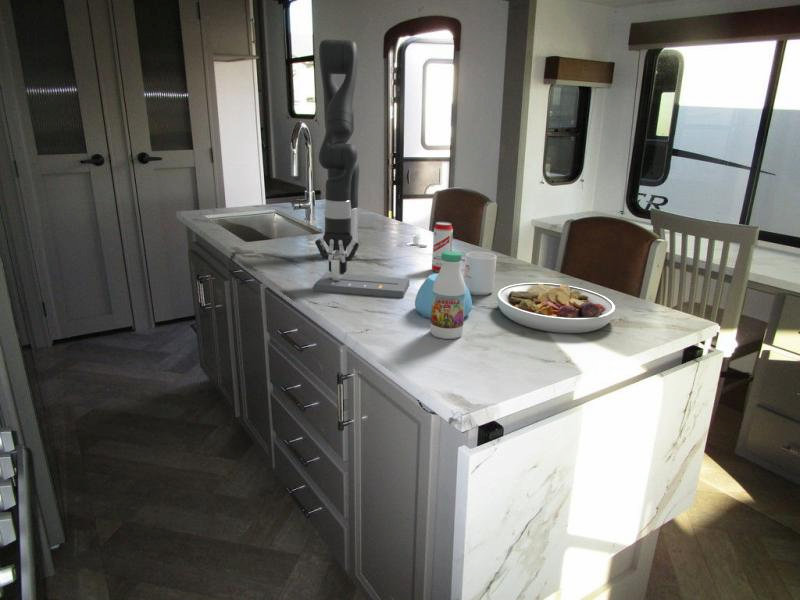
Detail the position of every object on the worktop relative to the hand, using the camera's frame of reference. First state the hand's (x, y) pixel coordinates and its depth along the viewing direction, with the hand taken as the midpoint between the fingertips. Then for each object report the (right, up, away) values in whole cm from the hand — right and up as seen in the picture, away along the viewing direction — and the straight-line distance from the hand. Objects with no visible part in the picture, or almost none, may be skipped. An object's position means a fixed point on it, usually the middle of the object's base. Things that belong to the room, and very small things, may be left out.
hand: (337, 273), depth 169 cm
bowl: (+59, -13, -17) cm, 63 cm away
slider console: (+8, -4, 0) cm, 9 cm away
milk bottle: (+30, -16, -32) cm, 47 cm away
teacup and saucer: (+24, +12, +55) cm, 61 cm away
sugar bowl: (+30, -12, -18) cm, 37 cm away
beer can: (+32, +2, +22) cm, 39 cm away
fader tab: (0, -1, 0) cm, 1 cm away
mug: (+41, -5, +3) cm, 41 cm away
